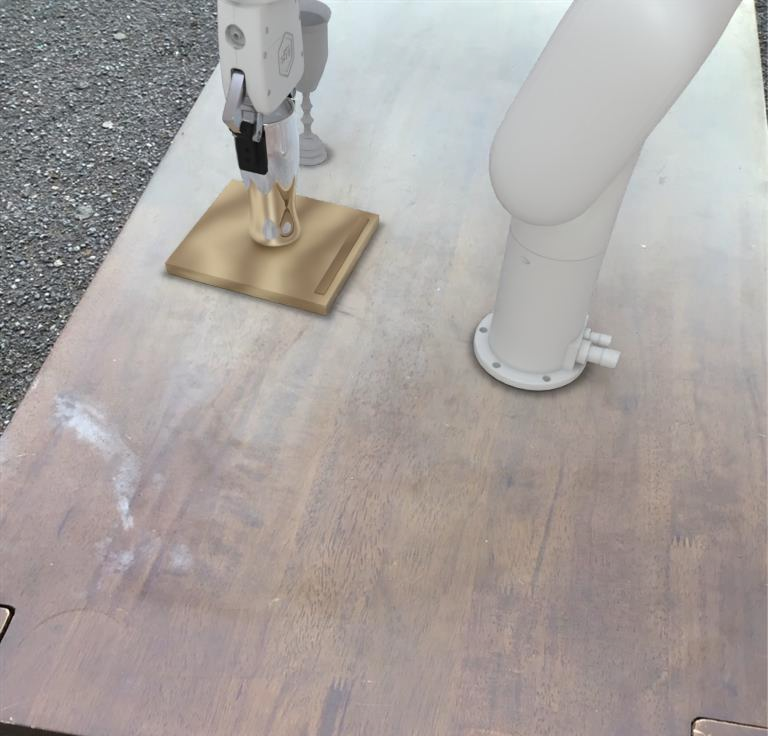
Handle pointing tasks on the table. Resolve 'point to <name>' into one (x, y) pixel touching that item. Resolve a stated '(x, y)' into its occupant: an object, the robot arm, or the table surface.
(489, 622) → the table surface
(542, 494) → the table surface
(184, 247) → the serving board
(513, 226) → the robot arm
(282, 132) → the beer glass
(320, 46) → the chalice
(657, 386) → the table surface
